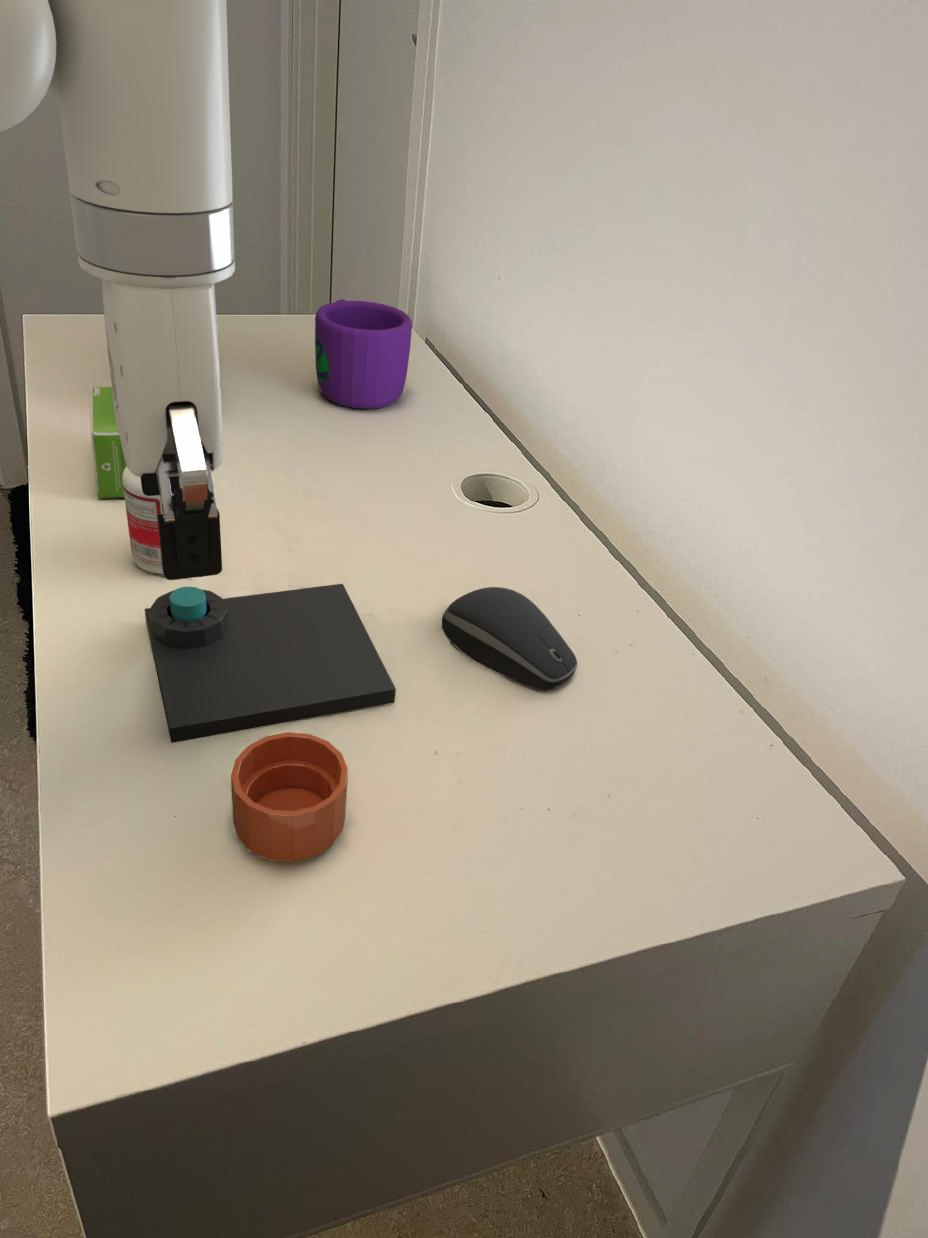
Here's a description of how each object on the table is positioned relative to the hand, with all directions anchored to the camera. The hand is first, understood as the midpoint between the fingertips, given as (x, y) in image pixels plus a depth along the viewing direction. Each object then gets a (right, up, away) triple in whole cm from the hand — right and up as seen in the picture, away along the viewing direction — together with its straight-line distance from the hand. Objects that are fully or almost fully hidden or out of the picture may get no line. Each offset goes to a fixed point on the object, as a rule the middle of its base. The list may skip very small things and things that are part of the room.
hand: (180, 530), depth 55 cm
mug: (+3, +24, +59) cm, 64 cm away
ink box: (-16, +9, +35) cm, 39 cm away
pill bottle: (-9, 0, +24) cm, 25 cm away
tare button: (-4, -5, +14) cm, 15 cm away
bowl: (+6, -18, +2) cm, 19 cm away
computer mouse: (+21, -8, +19) cm, 29 cm away
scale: (+2, -9, +14) cm, 17 cm away
